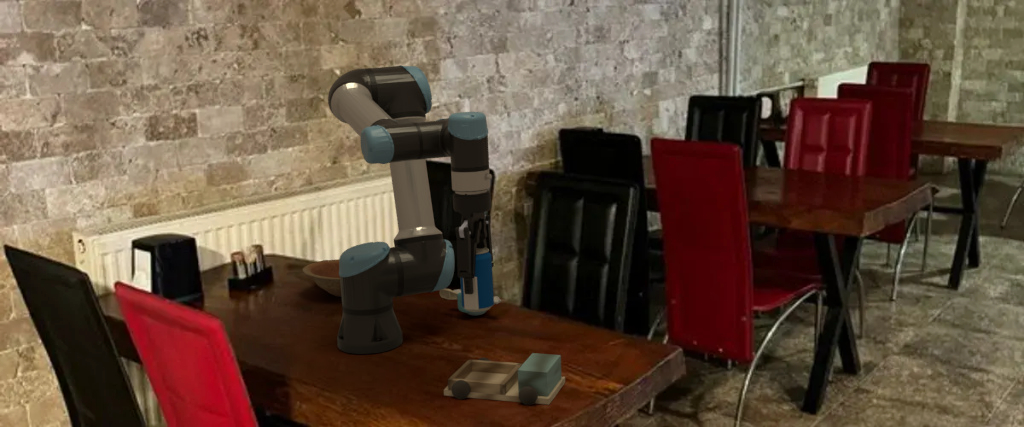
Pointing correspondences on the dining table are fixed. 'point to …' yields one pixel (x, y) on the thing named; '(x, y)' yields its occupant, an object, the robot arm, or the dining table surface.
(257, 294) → the dining table surface
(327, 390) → the dining table surface
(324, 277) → the bowl
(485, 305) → the beverage can
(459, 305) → the toy figure
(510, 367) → the toy truck
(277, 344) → the dining table surface
